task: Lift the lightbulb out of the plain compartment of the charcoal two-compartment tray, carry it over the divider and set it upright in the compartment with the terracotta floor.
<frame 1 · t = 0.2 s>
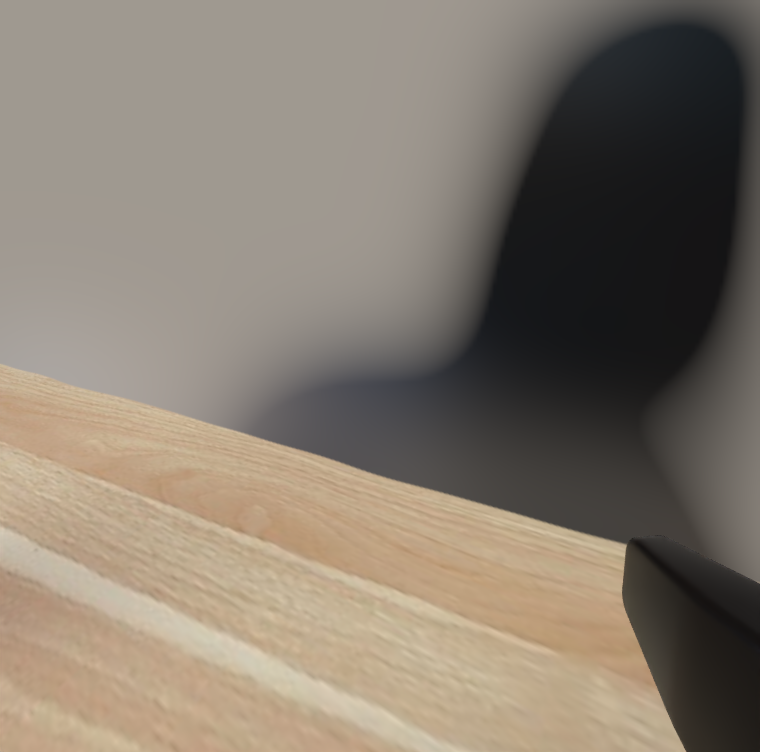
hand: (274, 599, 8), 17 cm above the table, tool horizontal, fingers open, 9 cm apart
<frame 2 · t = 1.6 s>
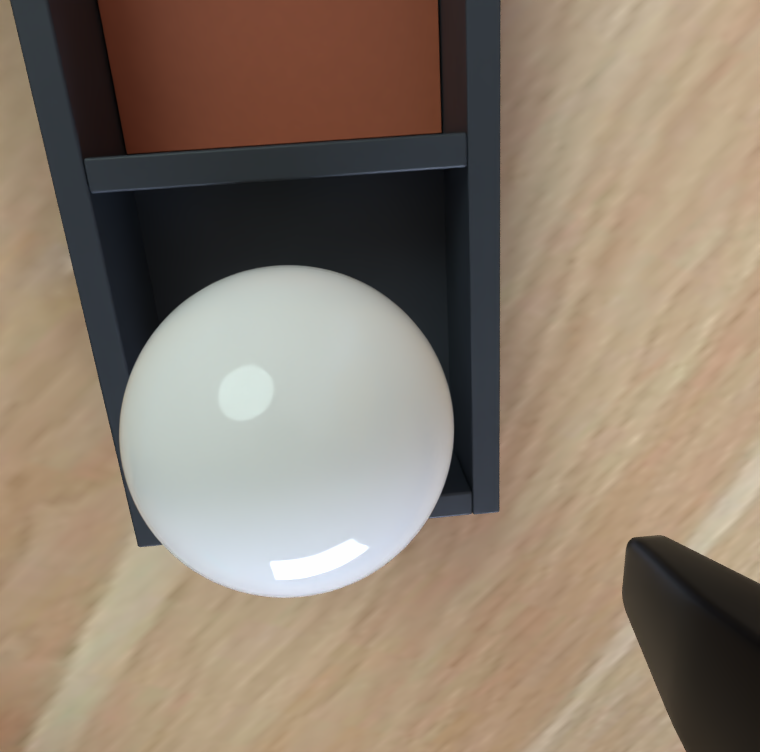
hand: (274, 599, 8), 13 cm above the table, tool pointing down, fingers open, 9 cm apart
lightbulb: (306, 322, 20), resting on tray
tray: (289, 160, 18), on the table
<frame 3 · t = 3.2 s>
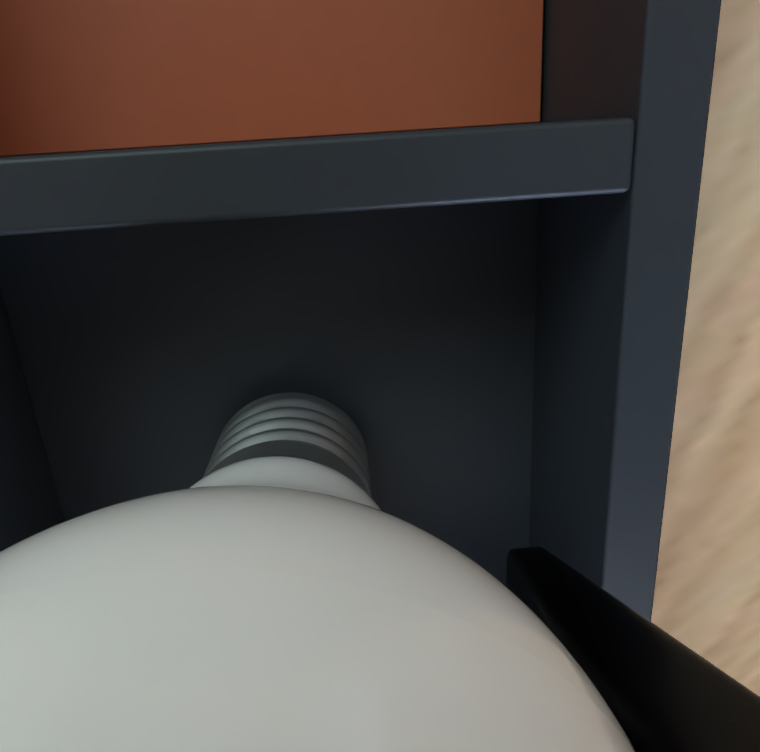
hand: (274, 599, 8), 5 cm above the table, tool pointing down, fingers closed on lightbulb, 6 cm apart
lightbulb: (295, 440, 12), resting on tray, touching gripper
tray: (263, 169, 10), on the table
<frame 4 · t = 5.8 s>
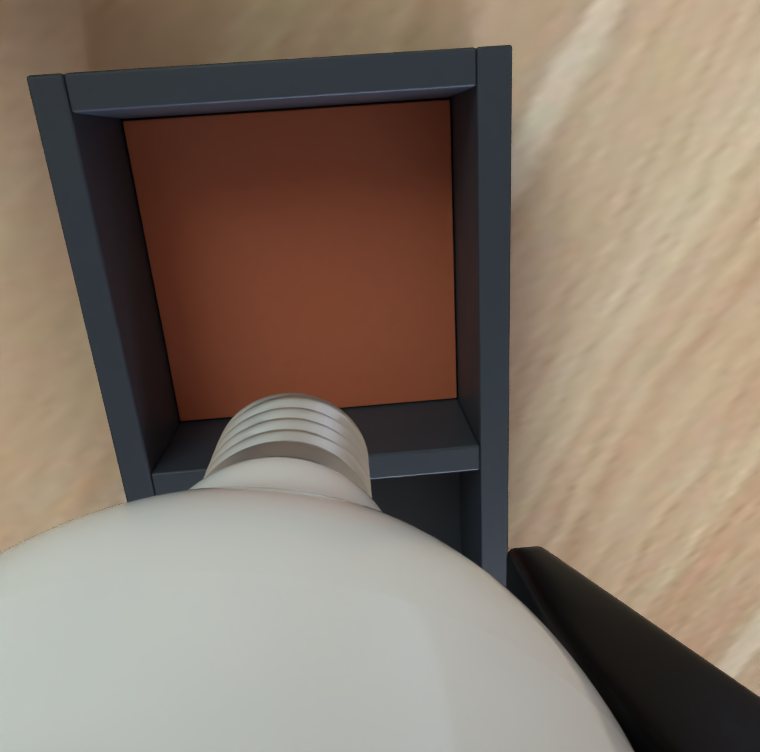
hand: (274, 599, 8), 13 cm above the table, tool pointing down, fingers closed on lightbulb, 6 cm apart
lightbulb: (295, 441, 12), point 8 cm above the table, touching gripper
tray: (321, 416, 21), on the table
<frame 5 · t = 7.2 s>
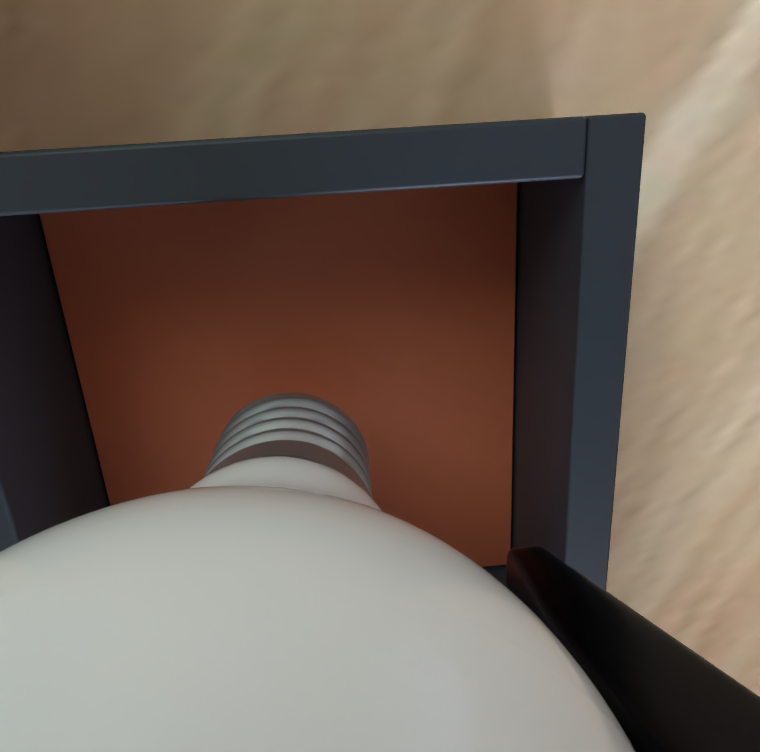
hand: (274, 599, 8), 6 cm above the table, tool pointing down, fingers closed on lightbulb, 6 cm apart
lightbulb: (295, 440, 12), point 2 cm above the table, touching gripper
tray: (325, 582, 15), on the table
when the fingers open (5 cm above the table, at t = 8.2 s): lightbulb stays where it is, resting on tray.
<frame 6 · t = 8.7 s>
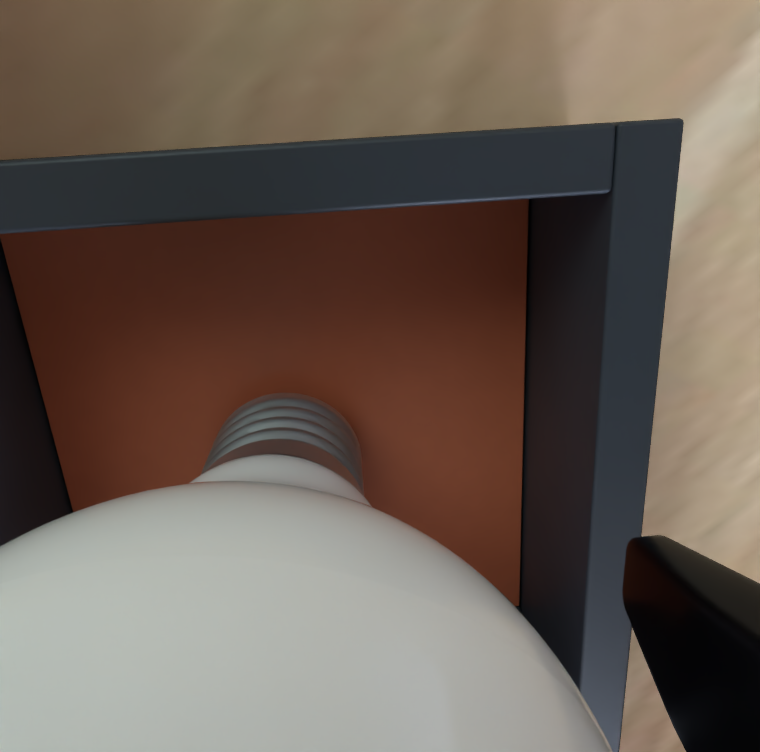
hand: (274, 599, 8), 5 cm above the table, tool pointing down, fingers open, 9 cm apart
lightbulb: (290, 439, 12), resting on tray
tray: (319, 625, 14), on the table
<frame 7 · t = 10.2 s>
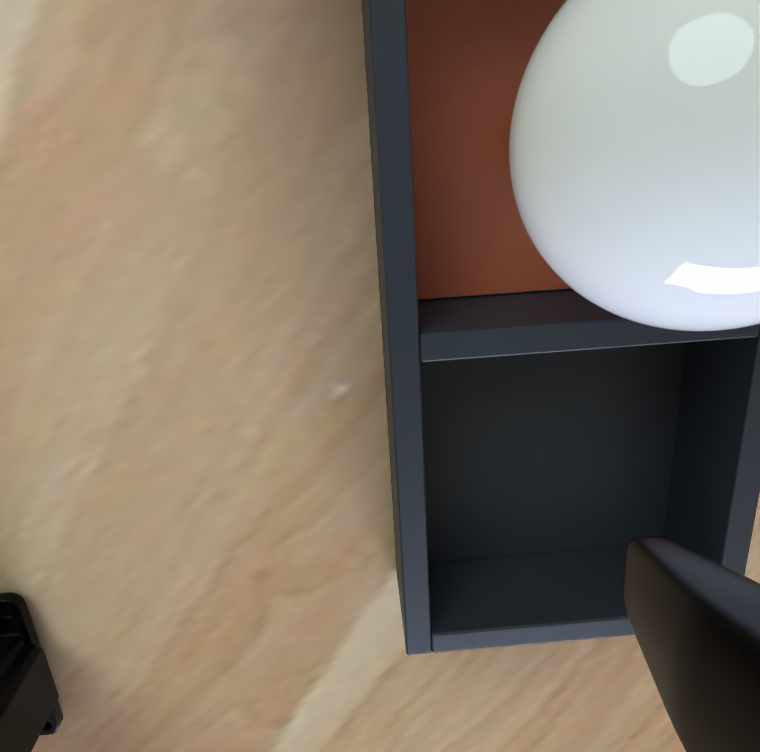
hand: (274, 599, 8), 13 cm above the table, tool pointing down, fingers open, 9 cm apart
lightbulb: (553, 137, 18), resting on tray
tray: (547, 300, 20), on the table
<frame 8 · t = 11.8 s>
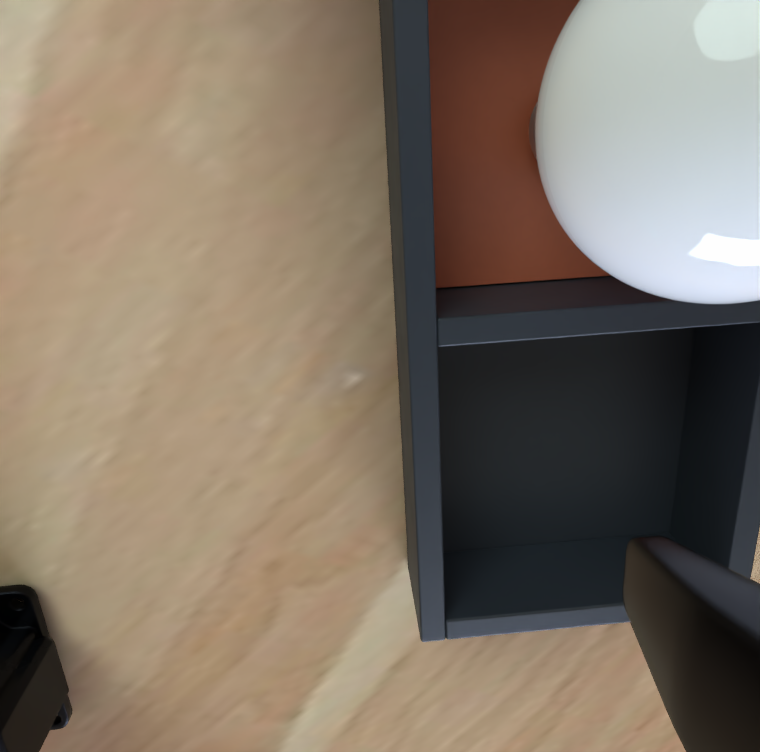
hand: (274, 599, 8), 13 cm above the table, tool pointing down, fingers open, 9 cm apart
lightbulb: (565, 128, 18), resting on tray
tray: (558, 289, 20), on the table
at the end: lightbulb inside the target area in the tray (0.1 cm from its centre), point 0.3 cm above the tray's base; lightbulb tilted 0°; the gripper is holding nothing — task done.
